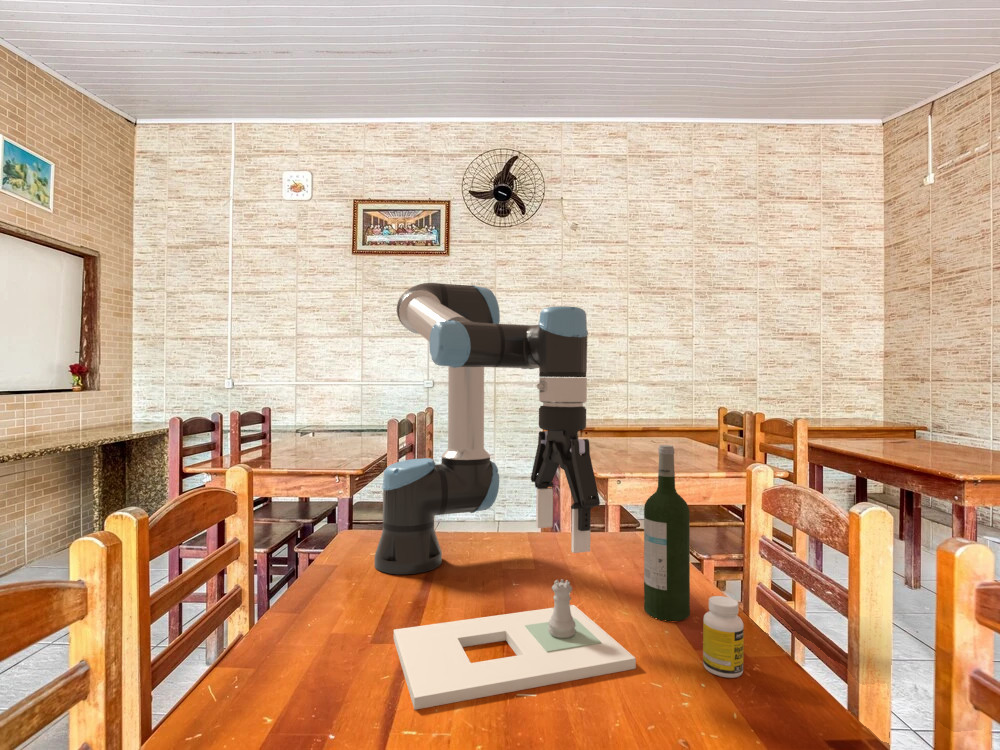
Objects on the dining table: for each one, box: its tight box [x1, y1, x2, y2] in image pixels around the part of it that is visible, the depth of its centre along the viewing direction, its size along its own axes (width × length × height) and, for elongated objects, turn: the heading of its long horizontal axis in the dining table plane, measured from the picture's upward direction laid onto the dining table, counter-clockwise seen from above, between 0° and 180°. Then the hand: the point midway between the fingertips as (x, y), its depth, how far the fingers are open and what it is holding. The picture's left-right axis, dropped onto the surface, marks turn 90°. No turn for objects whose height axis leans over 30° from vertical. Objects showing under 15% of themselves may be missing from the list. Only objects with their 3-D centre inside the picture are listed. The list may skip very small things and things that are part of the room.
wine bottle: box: [643, 444, 691, 622], centre depth 98 cm, size 8×8×30 cm
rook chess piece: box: [548, 578, 576, 639], centre depth 86 cm, size 4×4×8 cm
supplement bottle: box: [702, 595, 745, 679], centre depth 78 cm, size 5×5×10 cm
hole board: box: [393, 604, 637, 711], centre depth 83 cm, size 20×32×2 cm, turn 108°
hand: (561, 538), depth 86 cm, fingers open, 13 cm apart
